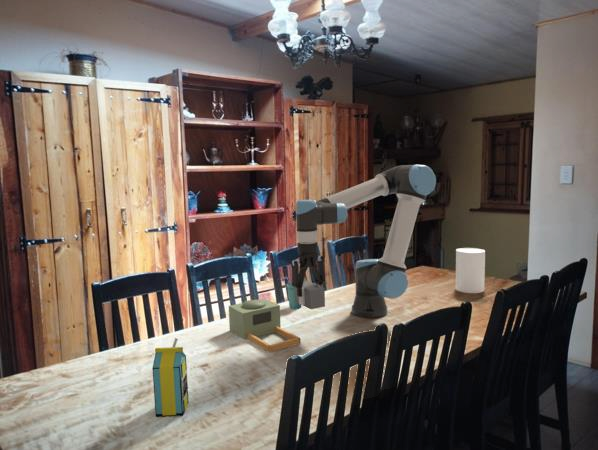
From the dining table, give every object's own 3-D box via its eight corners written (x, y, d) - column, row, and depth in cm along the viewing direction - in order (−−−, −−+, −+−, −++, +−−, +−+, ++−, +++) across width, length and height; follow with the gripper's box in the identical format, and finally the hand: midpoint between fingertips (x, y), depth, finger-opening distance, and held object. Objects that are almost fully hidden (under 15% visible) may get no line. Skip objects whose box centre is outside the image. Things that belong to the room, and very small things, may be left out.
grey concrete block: (308, 298, 178) (307, 281, 177) (325, 306, 168) (324, 287, 167) (294, 301, 176) (294, 283, 175) (310, 309, 165) (310, 290, 164)
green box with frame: (265, 322, 189) (264, 296, 187) (304, 342, 166) (303, 312, 164) (229, 330, 180) (228, 303, 178) (265, 353, 157) (264, 322, 155)
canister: (449, 288, 233) (450, 249, 231) (469, 284, 239) (470, 247, 237) (469, 294, 221) (470, 253, 219) (490, 290, 227) (491, 251, 224)
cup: (286, 313, 200) (285, 279, 198) (276, 309, 206) (275, 276, 204) (311, 306, 208) (310, 274, 207) (300, 303, 214) (299, 271, 213)
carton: (190, 400, 126) (186, 337, 123) (184, 415, 118) (180, 348, 116) (162, 401, 125) (158, 338, 123) (155, 417, 118) (150, 349, 115)
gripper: (322, 237, 177) (324, 295, 180) (279, 244, 167) (282, 305, 169) (334, 239, 171) (336, 300, 174) (291, 246, 160) (293, 310, 163)
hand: (309, 302), depth 172 cm, fingers closed on grey concrete block, 6 cm apart
